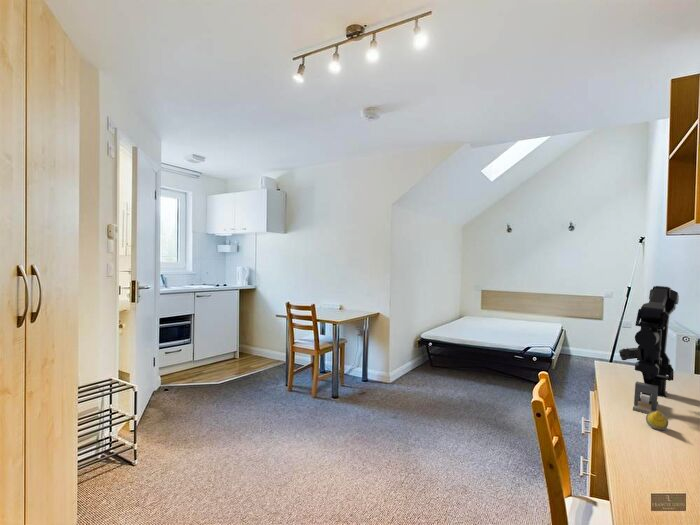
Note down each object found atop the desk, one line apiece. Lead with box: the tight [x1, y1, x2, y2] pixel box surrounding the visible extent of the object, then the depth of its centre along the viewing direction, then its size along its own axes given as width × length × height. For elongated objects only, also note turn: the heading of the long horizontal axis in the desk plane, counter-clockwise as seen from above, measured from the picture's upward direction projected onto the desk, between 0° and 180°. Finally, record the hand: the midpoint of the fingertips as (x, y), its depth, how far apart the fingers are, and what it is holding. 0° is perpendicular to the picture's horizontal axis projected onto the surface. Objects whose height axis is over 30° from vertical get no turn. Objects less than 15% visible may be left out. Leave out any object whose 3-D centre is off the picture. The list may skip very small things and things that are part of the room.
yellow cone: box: [645, 410, 669, 431], centre depth 117 cm, size 5×5×10 cm
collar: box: [633, 381, 659, 410], centre depth 132 cm, size 3×6×7 cm, turn 48°
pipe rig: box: [632, 392, 659, 415], centre depth 134 cm, size 14×6×5 cm, turn 138°
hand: (647, 387), depth 134 cm, fingers closed
